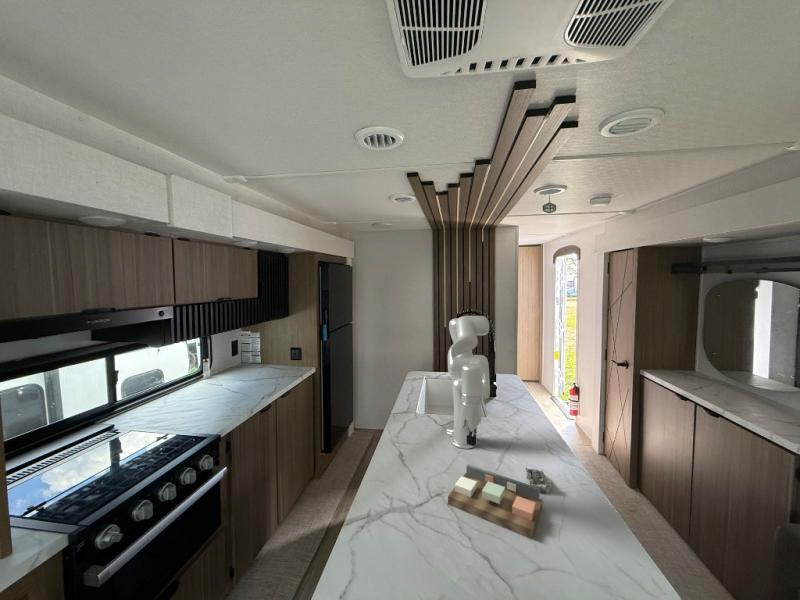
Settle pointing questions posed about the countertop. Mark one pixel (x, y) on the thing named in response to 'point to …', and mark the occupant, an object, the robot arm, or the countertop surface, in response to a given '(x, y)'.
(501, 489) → the key sage
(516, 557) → the countertop surface
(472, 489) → the key cream
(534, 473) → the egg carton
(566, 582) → the countertop surface
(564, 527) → the countertop surface
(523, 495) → the keypad
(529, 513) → the key terracotta
